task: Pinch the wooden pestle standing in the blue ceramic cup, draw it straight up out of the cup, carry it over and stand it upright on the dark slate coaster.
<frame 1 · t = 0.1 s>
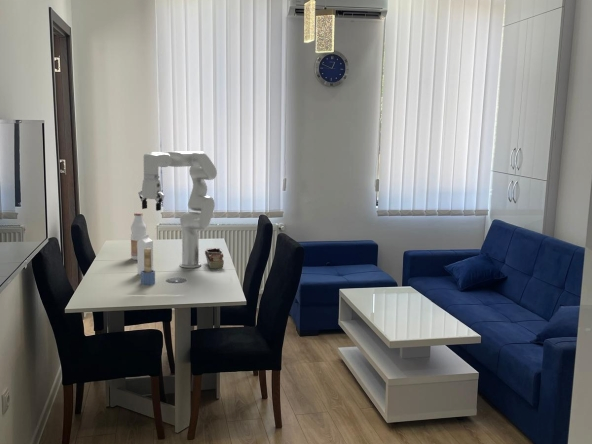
hand: (151, 209, 326), 37 cm above the table, tool pointing down, fingers open, 9 cm apart
milk: (145, 275, 338), on the table
cup: (148, 284, 318), on the table
decorative box: (211, 265, 362), on the table
coaster: (176, 281, 325), on the table
fruit juice: (139, 258, 375), on the table
wooden pestle: (148, 283, 318), point 1 cm above the table, touching cup
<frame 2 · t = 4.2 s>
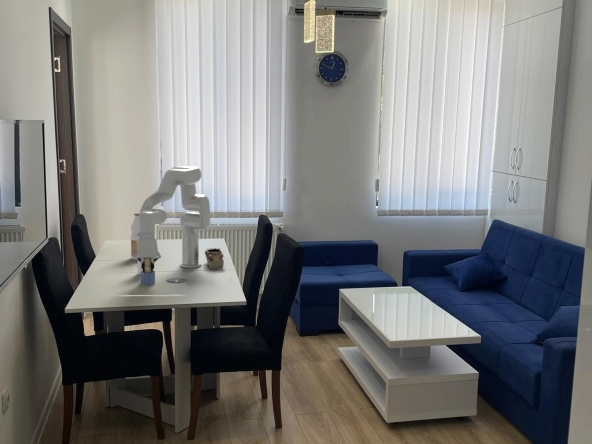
hand: (147, 270, 317), 8 cm above the table, tool pointing down, fingers closed on wooden pestle, 3 cm apart
wooden pestle: (148, 283, 318), point 1 cm above the table, touching cup, gripper
everything else where it was.
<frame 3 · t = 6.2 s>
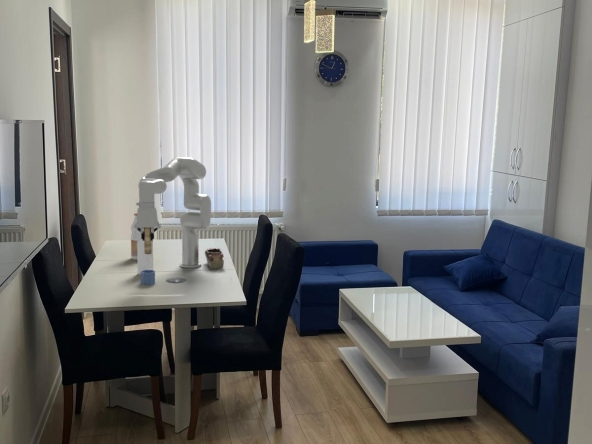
hand: (147, 240, 315), 23 cm above the table, tool pointing down, fingers closed on wooden pestle, 3 cm apart
wooden pestle: (148, 253, 316), point 16 cm above the table, touching gripper
everything else where it was.
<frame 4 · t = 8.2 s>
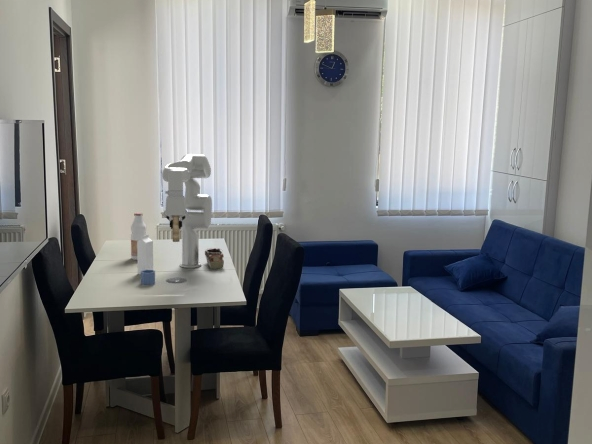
hand: (175, 228, 320), 29 cm above the table, tool pointing down, fingers closed on wooden pestle, 3 cm apart
wooden pestle: (176, 241, 321), point 22 cm above the table, touching gripper
everything else where it was.
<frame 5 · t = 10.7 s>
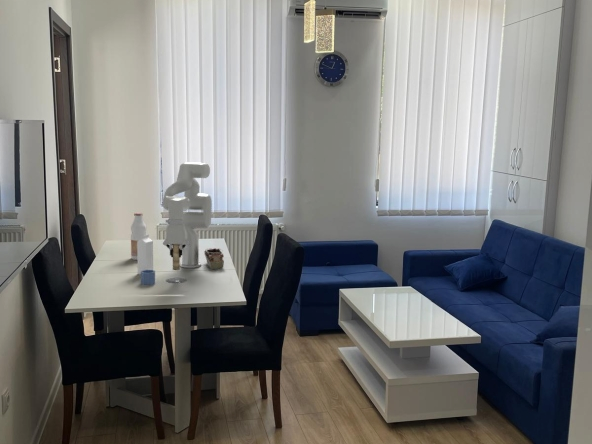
hand: (176, 256, 322), 14 cm above the table, tool pointing down, fingers closed on wooden pestle, 3 cm apart
wooden pestle: (176, 269, 323), point 7 cm above the table, touching gripper
everything else where it was.
when the fingers open (9 cm above the table, at t = 12.6 s): wooden pestle stays where it is, resting on coaster.
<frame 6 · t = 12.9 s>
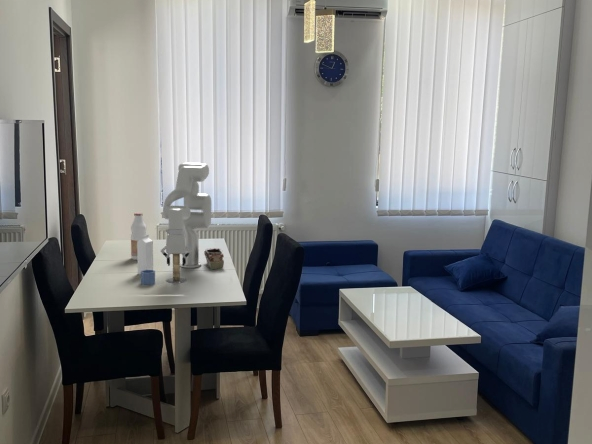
hand: (176, 264, 323), 9 cm above the table, tool pointing down, fingers open, 7 cm apart
wooden pestle: (176, 280, 325), point 1 cm above the table, touching coaster
everything else where it was.
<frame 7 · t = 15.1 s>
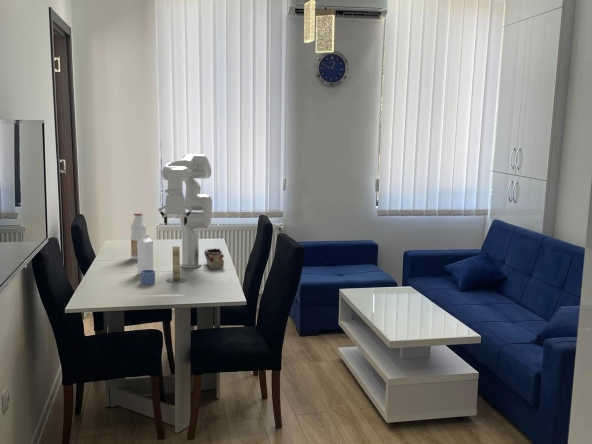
hand: (175, 224, 321), 30 cm above the table, tool pointing down, fingers open, 9 cm apart
nothing on the table moved.
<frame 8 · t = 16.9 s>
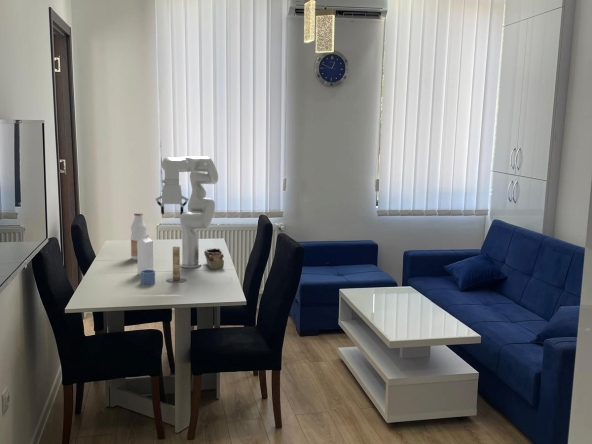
hand: (172, 214, 330), 34 cm above the table, tool pointing down, fingers open, 9 cm apart
nothing on the table moved.
at the end: wooden pestle inside the target area on the coaster (0.0 cm from its centre), point 0.8 cm above the coaster's base; wooden pestle tilted 0°; the gripper is holding nothing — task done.
